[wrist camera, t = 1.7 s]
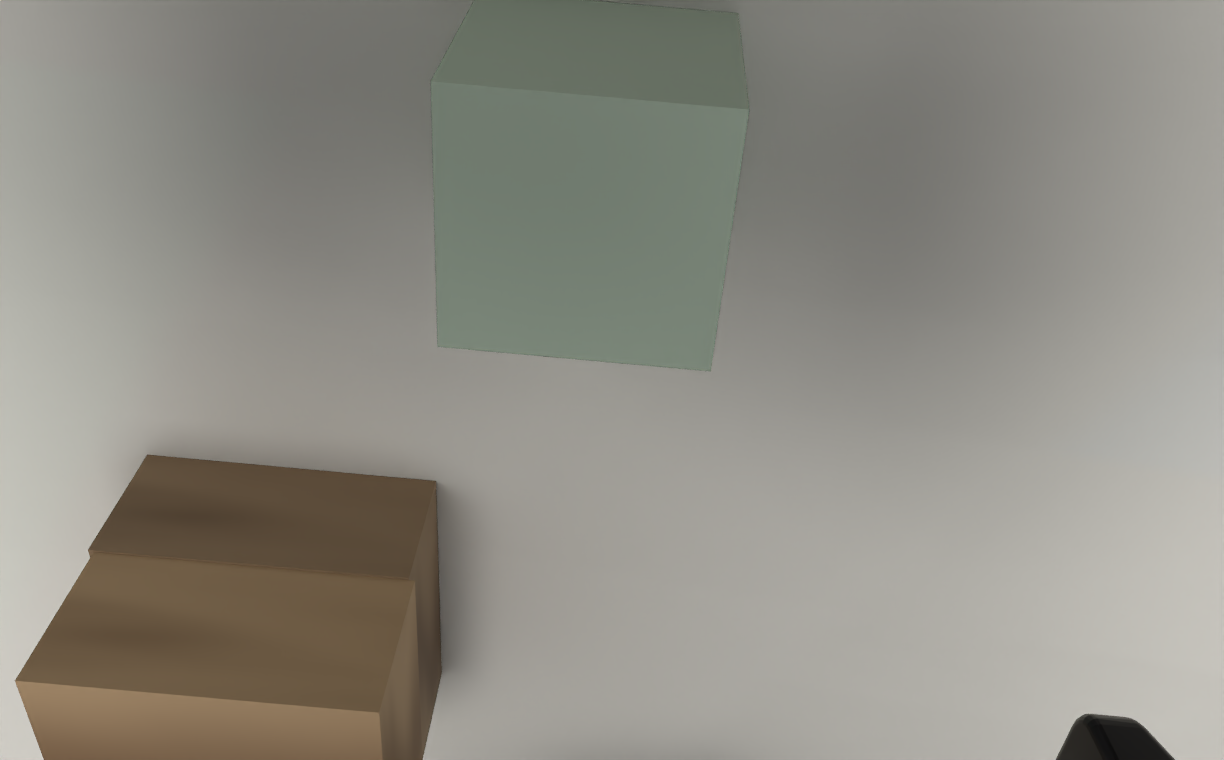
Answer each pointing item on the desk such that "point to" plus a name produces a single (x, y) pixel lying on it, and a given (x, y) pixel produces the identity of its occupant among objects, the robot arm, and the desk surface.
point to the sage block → (587, 179)
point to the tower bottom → (289, 530)
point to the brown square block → (226, 665)
